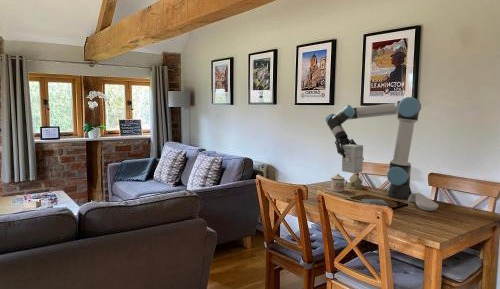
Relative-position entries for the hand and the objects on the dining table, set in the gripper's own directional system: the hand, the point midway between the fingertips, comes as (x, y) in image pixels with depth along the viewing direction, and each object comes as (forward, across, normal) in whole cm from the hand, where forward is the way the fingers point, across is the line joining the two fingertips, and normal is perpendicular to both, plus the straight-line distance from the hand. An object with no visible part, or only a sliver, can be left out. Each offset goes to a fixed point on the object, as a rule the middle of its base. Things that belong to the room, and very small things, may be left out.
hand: (355, 160), depth 236 cm
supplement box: (+3, 0, -7) cm, 8 cm away
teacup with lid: (0, -9, -36) cm, 37 cm away
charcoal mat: (+26, -5, -9) cm, 28 cm away
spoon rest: (+38, -26, +2) cm, 46 cm away
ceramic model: (-3, -28, -39) cm, 48 cm away
